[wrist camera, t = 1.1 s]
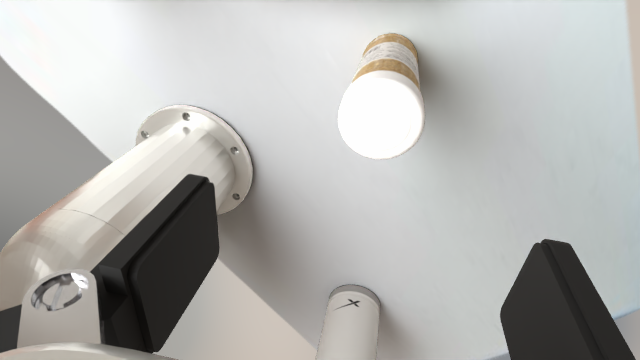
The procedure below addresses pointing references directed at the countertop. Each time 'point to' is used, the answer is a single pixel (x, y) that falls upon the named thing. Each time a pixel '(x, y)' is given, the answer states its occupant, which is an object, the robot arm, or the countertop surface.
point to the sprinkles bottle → (384, 100)
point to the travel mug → (350, 325)
